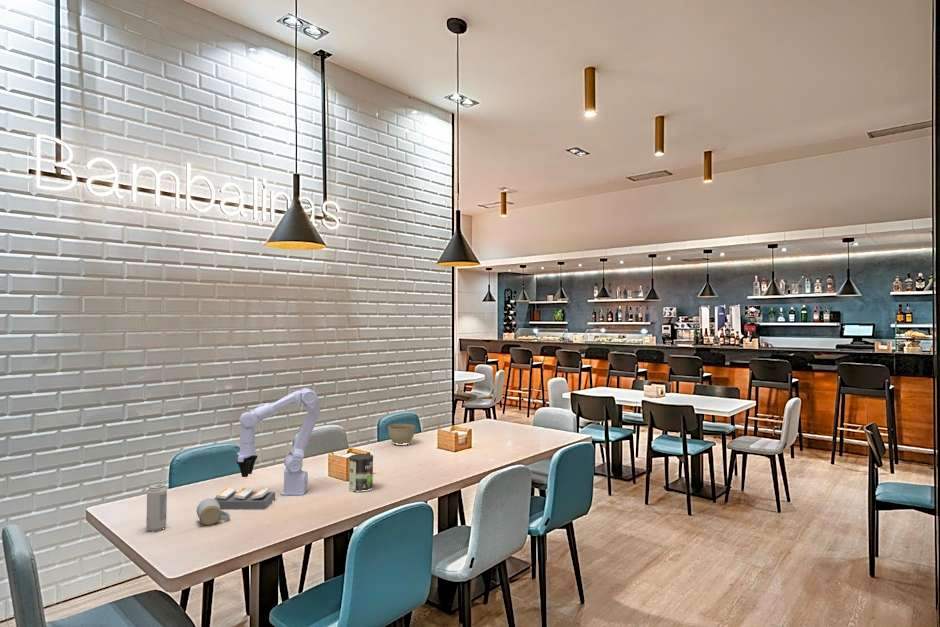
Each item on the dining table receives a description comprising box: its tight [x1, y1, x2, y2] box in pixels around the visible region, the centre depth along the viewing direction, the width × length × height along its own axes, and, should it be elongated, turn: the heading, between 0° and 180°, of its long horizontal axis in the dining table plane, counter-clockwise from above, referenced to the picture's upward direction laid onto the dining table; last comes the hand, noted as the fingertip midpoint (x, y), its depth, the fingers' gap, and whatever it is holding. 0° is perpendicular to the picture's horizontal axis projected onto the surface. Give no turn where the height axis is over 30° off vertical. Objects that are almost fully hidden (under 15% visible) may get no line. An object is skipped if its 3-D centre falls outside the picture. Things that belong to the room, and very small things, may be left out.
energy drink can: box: [145, 483, 168, 532], centre depth 190 cm, size 6×6×15 cm
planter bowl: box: [387, 423, 416, 444], centre depth 325 cm, size 16×16×11 cm
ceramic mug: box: [196, 497, 231, 526], centre depth 197 cm, size 11×8×8 cm
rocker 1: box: [215, 487, 237, 499], centre depth 216 cm, size 4×9×1 cm, turn 1°
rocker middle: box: [234, 487, 254, 499], centre depth 217 cm, size 4×9×1 cm, turn 1°
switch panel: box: [213, 491, 276, 510], centre depth 216 cm, size 21×12×3 cm, turn 91°
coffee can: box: [348, 453, 374, 491], centre depth 238 cm, size 10×10×14 cm
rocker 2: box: [252, 487, 271, 499], centre depth 217 cm, size 4×9×1 cm, turn 2°
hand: (246, 475), depth 224 cm, fingers open, 4 cm apart
